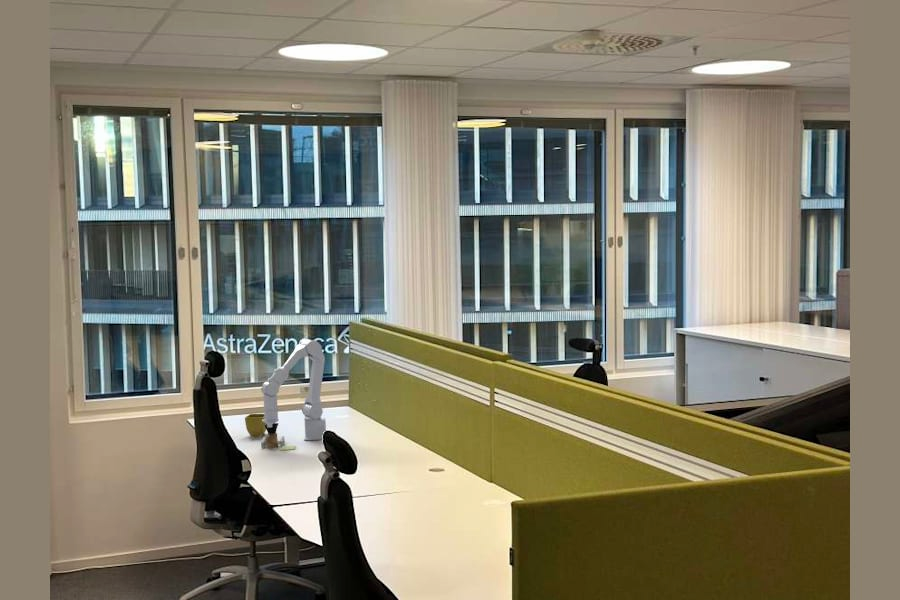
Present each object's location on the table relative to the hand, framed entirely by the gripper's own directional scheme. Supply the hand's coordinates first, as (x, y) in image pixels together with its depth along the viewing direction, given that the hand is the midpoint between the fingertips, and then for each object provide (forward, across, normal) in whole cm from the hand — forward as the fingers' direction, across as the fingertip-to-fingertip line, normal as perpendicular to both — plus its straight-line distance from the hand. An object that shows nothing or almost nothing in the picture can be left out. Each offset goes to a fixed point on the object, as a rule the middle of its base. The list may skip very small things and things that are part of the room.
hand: (272, 440), depth 399 cm
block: (+2, +3, 0) cm, 3 cm away
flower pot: (+2, -22, -9) cm, 24 cm away
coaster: (+2, +8, +7) cm, 11 cm away
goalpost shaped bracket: (+2, 0, 0) cm, 2 cm away
